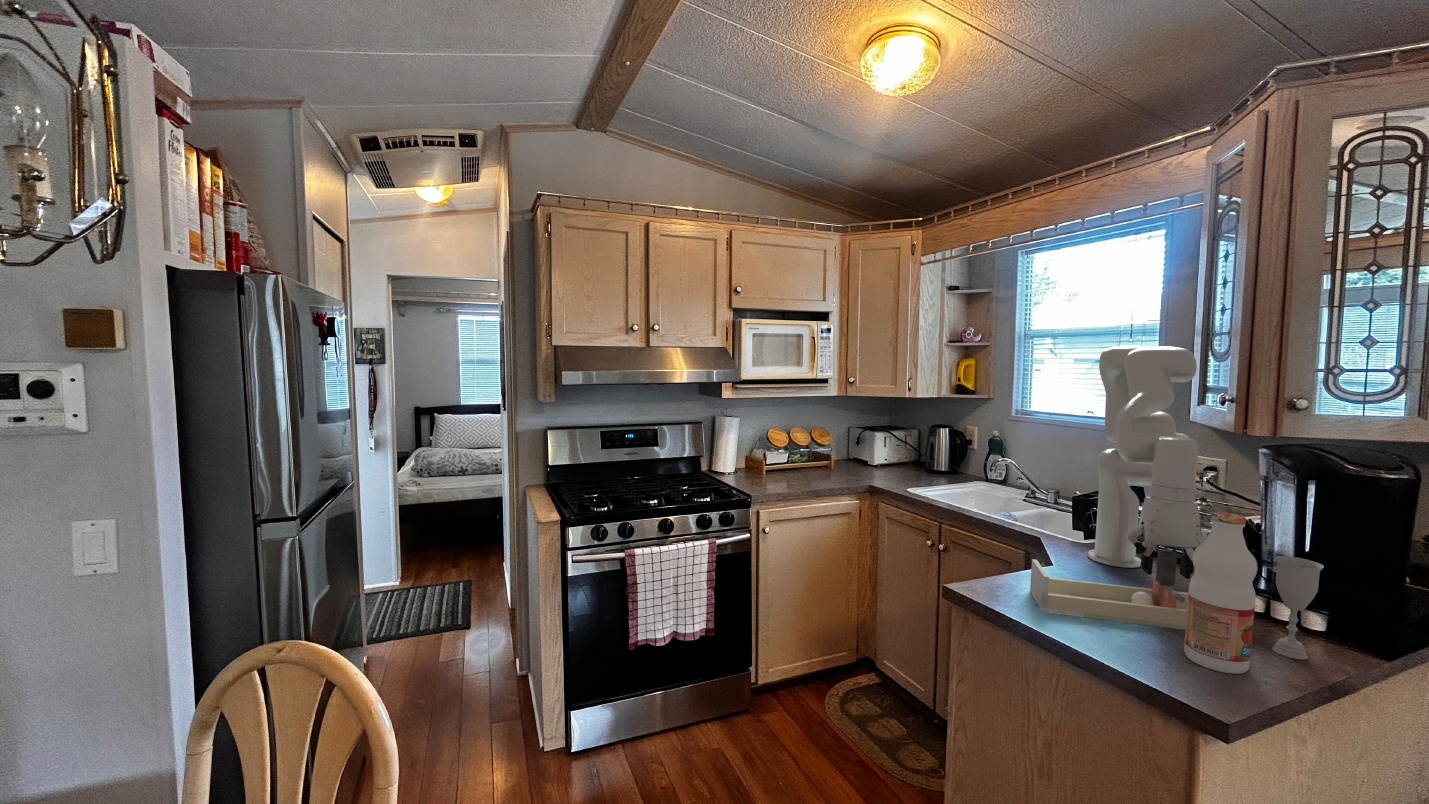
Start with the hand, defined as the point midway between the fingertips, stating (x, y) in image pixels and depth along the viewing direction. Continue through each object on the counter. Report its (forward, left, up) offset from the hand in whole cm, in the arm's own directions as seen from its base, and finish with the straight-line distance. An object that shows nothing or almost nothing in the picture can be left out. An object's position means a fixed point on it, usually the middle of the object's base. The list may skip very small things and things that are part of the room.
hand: (1165, 573), depth 130 cm
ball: (0, -4, -7) cm, 8 cm away
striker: (0, 0, -8) cm, 8 cm away
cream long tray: (0, -9, -10) cm, 13 cm away
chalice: (+11, +17, -10) cm, 23 cm away
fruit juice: (+20, +1, -10) cm, 22 cm away
